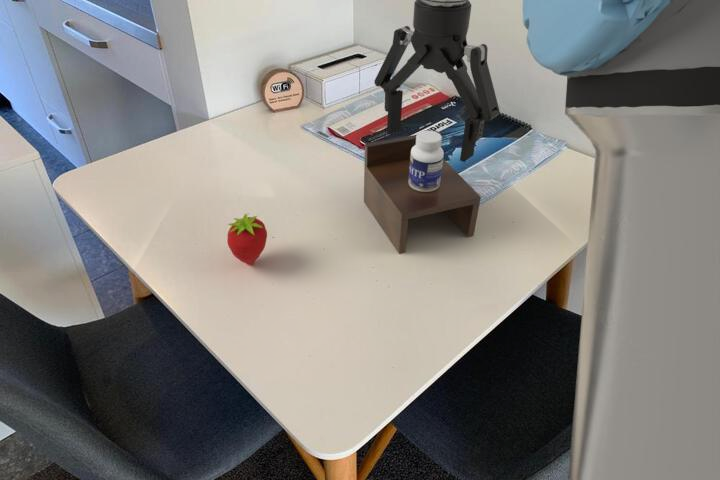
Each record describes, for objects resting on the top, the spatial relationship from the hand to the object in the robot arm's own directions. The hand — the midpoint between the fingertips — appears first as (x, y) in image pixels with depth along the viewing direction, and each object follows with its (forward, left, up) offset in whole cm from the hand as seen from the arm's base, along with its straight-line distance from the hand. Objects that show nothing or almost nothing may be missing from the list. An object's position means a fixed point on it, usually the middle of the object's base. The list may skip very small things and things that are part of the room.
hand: (428, 144), depth 82 cm
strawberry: (0, +30, -16) cm, 34 cm away
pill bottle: (0, 0, -8) cm, 8 cm away
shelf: (+2, 0, -16) cm, 16 cm away
